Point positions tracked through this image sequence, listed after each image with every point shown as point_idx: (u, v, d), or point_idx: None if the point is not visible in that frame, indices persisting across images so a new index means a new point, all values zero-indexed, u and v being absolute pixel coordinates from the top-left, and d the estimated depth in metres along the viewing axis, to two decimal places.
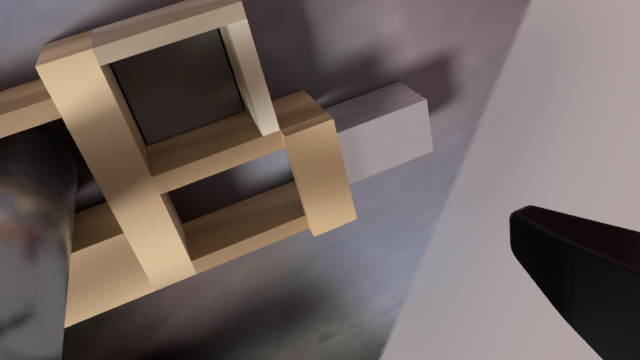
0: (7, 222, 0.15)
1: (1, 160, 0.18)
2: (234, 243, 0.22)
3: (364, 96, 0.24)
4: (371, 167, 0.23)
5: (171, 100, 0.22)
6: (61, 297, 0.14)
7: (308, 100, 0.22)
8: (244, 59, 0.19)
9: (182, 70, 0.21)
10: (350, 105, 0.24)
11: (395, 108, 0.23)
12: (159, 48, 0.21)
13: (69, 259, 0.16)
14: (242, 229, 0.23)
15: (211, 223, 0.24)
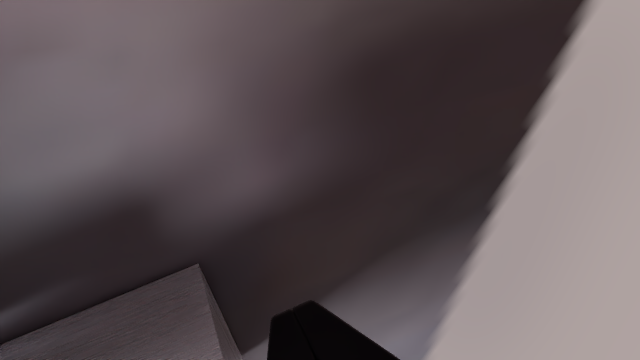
0: None
1: None
2: None
3: (90, 316, 0.09)
4: None
5: None
6: None
7: None
8: None
9: None
10: (34, 356, 0.08)
11: None
12: None
13: None
14: None
15: None
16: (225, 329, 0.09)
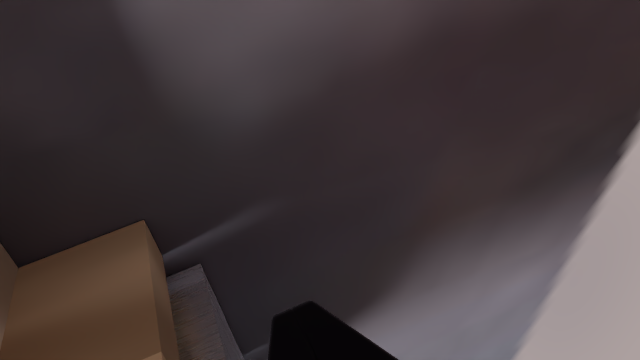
0: None
1: None
2: None
3: None
4: None
5: None
6: None
7: (135, 271, 0.08)
8: None
9: None
10: None
11: None
12: None
13: None
14: None
15: None
16: (227, 329, 0.09)
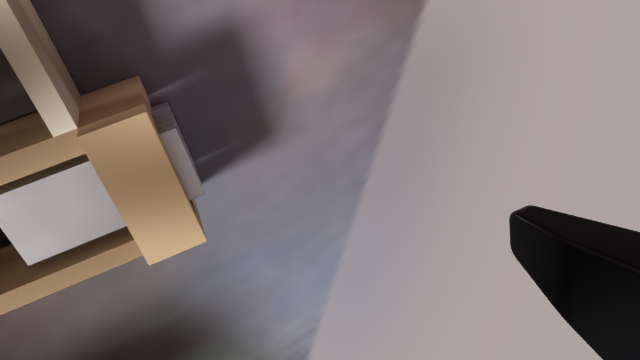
0: None
1: None
2: (42, 277, 0.17)
3: None
4: (113, 219, 0.17)
5: None
6: None
7: (134, 88, 0.17)
8: (0, 31, 0.14)
9: None
10: None
11: None
12: None
13: None
14: (60, 257, 0.18)
15: None
16: (181, 134, 0.19)
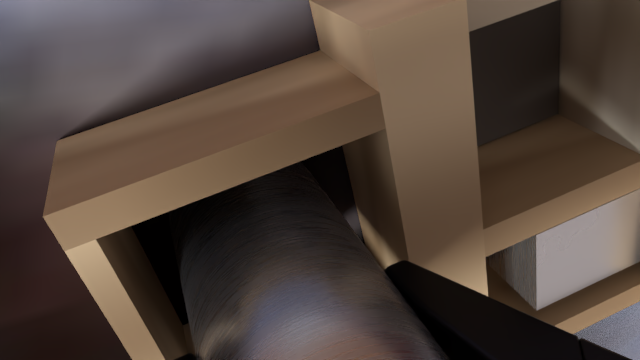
0: None
1: (271, 207, 0.10)
2: (554, 324, 0.14)
3: None
4: (629, 255, 0.14)
5: None
6: None
7: None
8: None
9: (497, 48, 0.13)
10: None
11: None
12: None
13: None
14: None
15: None
16: None
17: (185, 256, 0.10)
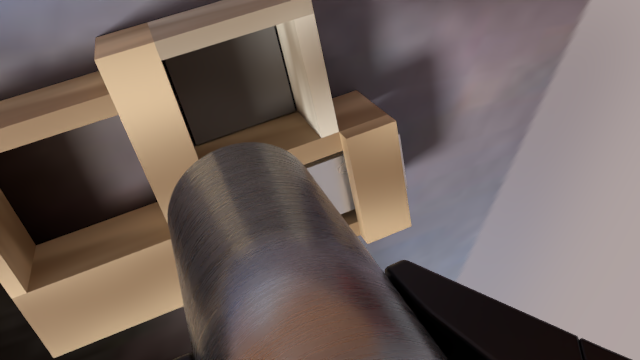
0: None
1: (270, 206, 0.10)
2: None
3: None
4: (339, 206, 0.22)
5: (223, 99, 0.21)
6: None
7: (364, 101, 0.21)
8: (308, 56, 0.18)
9: (236, 67, 0.20)
10: None
11: None
12: (213, 43, 0.20)
13: None
14: None
15: None
16: None
17: (183, 256, 0.10)
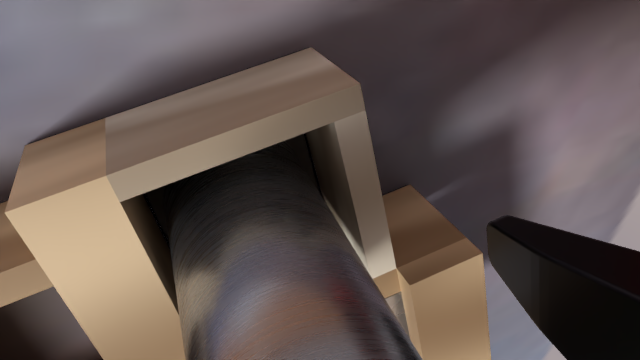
0: (366, 334, 0.07)
1: (252, 185, 0.10)
2: None
3: None
4: None
5: None
6: None
7: (425, 207, 0.15)
8: (355, 172, 0.12)
9: None
10: None
11: None
12: None
13: None
14: None
15: None
16: None
17: (174, 228, 0.11)
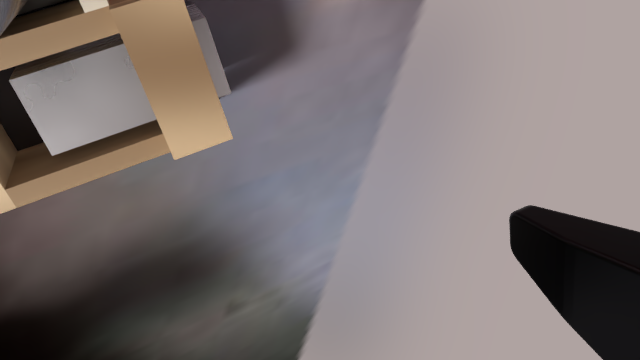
0: None
1: None
2: (66, 167, 0.17)
3: None
4: (138, 112, 0.17)
5: None
6: None
7: None
8: None
9: None
10: None
11: None
12: None
13: None
14: (83, 152, 0.18)
15: None
16: None
17: None
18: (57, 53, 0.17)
